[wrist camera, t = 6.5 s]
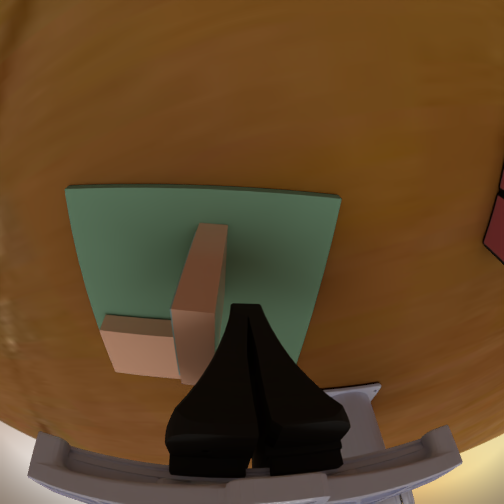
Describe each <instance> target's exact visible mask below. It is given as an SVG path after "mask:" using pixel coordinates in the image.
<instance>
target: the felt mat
mask: <svg viewBox="0 0 504 504" xmlns="http://www.w3.org/2000/svg"><path fill="white" fill-rule="evenodd" d="M65 195H66V201H67V207H68V213H69V218H70V224H71V229H72V234H73V238H74V243H75V247H76V252H77V256H78V260H79V264H80V268H81V272H82V275H83V279H84V283H85V286H86V290H87V293H88V296H89V300H90V303H91V306H92V309H93V312H94V315H95V318H96V321H97V324H98V327H99V330H100V328H101V325H102V323H103V320H104V318H105V315H115V316H125V317H136V318H148V319H161V320H171V317H170V306H171V303H172V300H173V297H174V294H175V290H176V287H177V284H178V281H179V278H180V275H181V272H182V269H183V266H184V263H185V260H186V257H187V254H188V251H189V248H190V245H191V242H192V240H193V237H194V234H195V232H196V231H197V228H198V225H199V223H208V224H222V225H228V236H227V255H226V275H225V296H224V305H223V314H222V323H221V332H220V341H221V339H222V337H223V334H224V331H225V329H226V326H227V323H228V319H229V315H230V305H231V304H233V303H246V304H260V305H261V306H262V309H263V311H264V314H265V316H266V318H267V320H268V322H269V324H270V326H271V328H272V330H273V331H274V333H275V335H276V336H277V338H278V340H279V341H280V343H281V344H282V346H283V347H284V349H285V350H286V352H287V353H288V354H289V356H290V357H291V358H292V359H293V361H294V362H295V363H297V360H298V357H299V354H300V351H301V348H302V345H303V342H304V339H305V335H306V332H307V329H308V326H309V322H310V319H311V316H312V312H313V309H314V306H315V302H316V299H317V295H318V292H319V288H320V284H321V281H322V277H323V273H324V270H325V266H326V262H327V258H328V254H329V250H330V246H331V242H332V238H333V234H334V230H335V226H336V221H337V217H338V213H339V208H340V204H341V198H340V197H339V195H333V194H323V193H313V192H302V191H291V190H278V189H264V188H249V187H231V186H209V185H175V184H103V185H71V186H68V187H67V188H66V189H65ZM220 341H219V344H220Z"/></svg>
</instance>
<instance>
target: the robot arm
mask: <svg viewBox="0 0 504 504" xmlns="http://www.w3.org/2000/svg"><path fill="white" fill-rule="evenodd" d="M380 388H381V384H380V383H377V384H370V385H363V386H356V387H348V388H339V389H329V390H322V389H320V388H319V387H318V386H317V385H316V384H315V383H314V382H313V381H312V380H311V379H310V378H309V377H308V376H307V375H306V374H305V373H304V372H303V371H302V370H301V369H300V368H299V367H298V366H297V364H296V363H295V362H294V361H293V359H292V358H291V357H290V356H289V354H288V353H287V352H286V350H285V349H284V347H283V346H282V344H281V343H280V341H279V340H278V338H277V336H276V335H275V333H274V331H273V330H272V328H271V326H270V324H269V322H268V320H267V318H266V316H265V314H264V311H263V309H262V306H261V305H260V304H246V303H233V304H231V305H230V315H229V319H228V323H227V326H226V329H225V331H224V334H223V337H222V339H221V341H220V344H219V346H218V348H217V350H216V352H215V354H214V356H213V358H212V360H211V361H210V363H209V365H208V367H207V368H206V370H205V371H204V373H203V374H202V376H201V377H200V379H199V380H198V382H197V383H196V384H195V386H194V387H193V388H192V389H191V391H190V392H189V393H188V394H187V396H186V397H185V398H184V399H183V400H182V401H181V402H180V403H179V404H178V405H177V406H176V408H175V409H174V411H173V413H172V415H171V418H170V420H169V422H168V425H167V429H166V435H165V445H166V447H167V449H168V451H169V453H170V459H169V465H161V464H153V463H146V462H140V461H133V460H128V459H122V458H117V457H112V456H108V455H103V454H99V453H95V452H91V451H87V450H83V449H79V448H76V447H72V446H70V445H69V443H68V442H67V441H65V440H64V439H62V438H59V437H57V436H53V435H50V434H47V433H44V432H42V431H40V432H39V433H38V436H37V440H36V443H35V447H34V450H33V454H32V458H31V462H30V467H29V471H28V477H29V478H30V479H32V480H33V481H35V482H37V483H39V484H40V485H42V486H44V487H46V488H48V489H49V490H51V491H53V492H56V493H58V494H61V495H63V496H66V497H69V498H72V499H75V500H78V501H81V502H84V503H87V504H402V502H403V504H415V503H414V498H413V494H412V490H413V489H415V488H418V487H420V486H422V485H425V484H427V483H429V482H432V481H434V480H436V479H438V478H439V477H441V476H443V475H445V474H446V473H448V472H449V471H451V470H453V469H454V468H455V467H457V466H459V465H460V464H462V459H461V456H460V454H459V451H458V448H457V446H456V443H455V441H454V438H453V436H452V433H451V431H450V429H449V426H448V425H444V426H442V427H439V428H436V429H434V430H431V431H429V432H427V433H426V434H425V435H424V436H423V437H422V438H421V439H418V440H415V441H412V442H409V443H405V444H402V445H399V446H395V447H392V448H388V449H385V446H384V442H383V439H382V436H381V433H380V430H379V427H378V424H377V420H376V417H375V414H374V411H373V408H372V405H371V400H372V399H373V398H374V396H375V395H376V394H377V392H378V391H379V389H380ZM251 458H252V469H247V468H248V465H249V462H250V459H251ZM401 499H402V500H401Z"/></svg>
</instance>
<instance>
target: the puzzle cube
mask: <svg viewBox="0 0 504 504" xmlns="http://www.w3.org/2000/svg"><path fill="white" fill-rule="evenodd" d="M499 187H500V190H501V192H500V193H498V194H497V198H496V202H495V206H494V209H493V213H492V216H491V220H490V223H489V226H488V229H487V232H486V235H485V238H484V241H483V243H484V246H485V247H486V248H487V249H488V250H489V251H490V252H491V253H492V254H493V255H494V256H495V257H496V258H497V259H498V260H499V261H500V262H501V263H502V264H503V265H504V168H503V173H502V177H501V182H500V186H499Z"/></svg>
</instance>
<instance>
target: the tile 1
mask: <svg viewBox="0 0 504 504" xmlns="http://www.w3.org/2000/svg"><path fill="white" fill-rule="evenodd" d="M100 333H101V336H102V339H103V341H104V344H105V347H106V349H107V352H108V354H109V357H110V359H111V362H112V364H113V367H114V369H115V371H116V372H120V373H128V374H136V375H144V376H154V377H164V378H176V379H181V376H180V375H179V372H178V366H177V359H176V353H175V346H174V339H173V332H172V324H171V320H161V319H148V318H136V317H125V316H115V315H105V318H104V320H103V323H102V325H101V328H100Z"/></svg>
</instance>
